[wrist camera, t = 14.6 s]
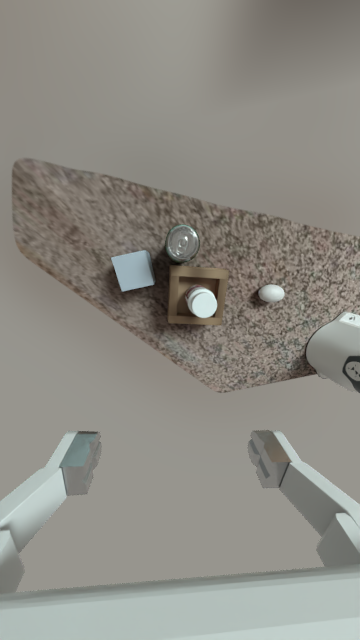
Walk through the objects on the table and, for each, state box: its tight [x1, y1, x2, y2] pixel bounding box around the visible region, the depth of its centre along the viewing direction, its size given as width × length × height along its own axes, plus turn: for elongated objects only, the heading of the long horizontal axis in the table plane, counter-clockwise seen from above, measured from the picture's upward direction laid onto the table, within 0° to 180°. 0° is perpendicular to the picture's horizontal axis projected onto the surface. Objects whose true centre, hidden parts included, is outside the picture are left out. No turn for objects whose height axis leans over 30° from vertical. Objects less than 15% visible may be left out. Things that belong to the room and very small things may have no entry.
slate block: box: [111, 250, 156, 291], centre depth 33 cm, size 6×6×6 cm
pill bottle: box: [185, 285, 217, 318], centre depth 30 cm, size 5×5×8 cm
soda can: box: [165, 225, 200, 263], centre depth 29 cm, size 5×5×12 cm
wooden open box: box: [167, 265, 229, 325], centre depth 35 cm, size 11×11×6 cm
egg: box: [259, 285, 284, 302], centre depth 37 cm, size 4×6×4 cm, turn 84°
